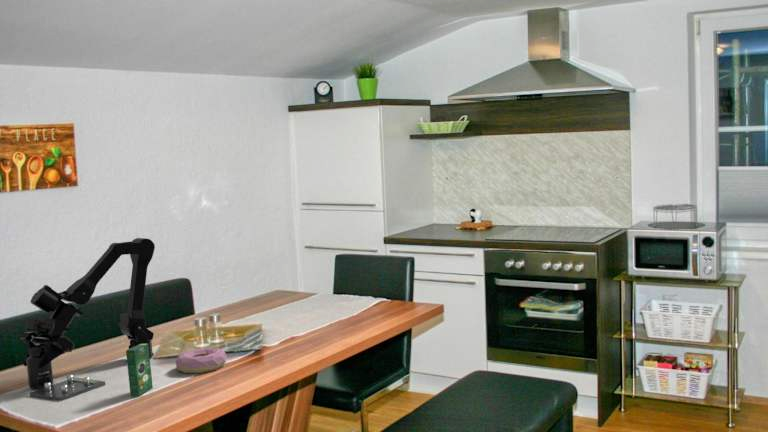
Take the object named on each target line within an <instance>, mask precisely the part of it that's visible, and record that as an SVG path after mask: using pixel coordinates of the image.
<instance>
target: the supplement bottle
mask: <svg viewBox="0 0 768 432" xmlns="http://www.w3.org/2000/svg"><path fill="white" fill-rule="evenodd" d="M45 350H46V344H44V345H36V346H32V347H29V354H30V356H29V357H28V358H27V360H26V364H27V366H26V370H27V371H26V373H27V381H28V382H27V383H28V387H29V389H32V390H39V389H42V388H45V384H44V383H47V382H50V383H51V385H54V374H53V373H54V372H53V365H52V363H53V362H52V361H51V362H49V363H48V364H46V365H45V366H43V367H42V368H39V367H38V364H39V362H40V360H41V358H42V356H43V354H44V352H45Z"/></svg>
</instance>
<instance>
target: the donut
mask: <svg viewBox="0 0 768 432" xmlns="http://www.w3.org/2000/svg"><path fill="white" fill-rule="evenodd" d="M175 359H176V360H175V365H176V366H175V367H176V369H177V370H178V371H180V372H182V373H185V374H203V373H208V372H212V371H215V370H218V369H221V368H222V367H224V365H225V364H226V362H227V359H228V357H227V354H226V352H225V351H224V350H223V349H222V348H217V347H201V348H196V349H195V348H194V349H190V350H187V351H184V352H182V353H181V354H179V355H178V356H177V357H176V358H175Z"/></svg>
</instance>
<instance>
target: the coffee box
mask: <svg viewBox="0 0 768 432" xmlns="http://www.w3.org/2000/svg"><path fill="white" fill-rule="evenodd" d="M125 353H126V356H125V357H126V364H127V376H128V383H129V393H130V397H131V398H132V397H134V398H136V397H137V398H138V397H140V396H142V395H143V394H145V393H147V391H150V390H151V389H153V388H154V387H153V378H152V370H151V359H150V357H149V347H148V344H147V343H146V344H139V345H137V346H135V347H132V348H130V349H129V348H128V349H127V350H125Z"/></svg>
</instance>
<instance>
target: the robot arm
mask: <svg viewBox="0 0 768 432" xmlns="http://www.w3.org/2000/svg"><path fill="white" fill-rule="evenodd" d="M155 248H156V247H155V243H154V241H153V240H152V239H150V238H143V237H136V238H134V239H133V240H131V241H123V242H112V243H111V244H110V245H108V248H107V249H106V250H105V252H104V253H103V254H102V255H101V256H100V257H99V258H98V260H97V261H96V262H95V263H94V264H93V265H92V267H91V268H90V269H89V270H88V271H87V272H86V274H85V275H84V276H82V277H81V278H79V279H77V280H76V281H74V282H73V283H71V285H70V286H69V287H68V288H66V290H64V291H60V292H57V291H55V290H54V289H53V288H52V287H51V286H49V285H48V284H44V285H43V286H42V287H41V288H40V289H38V290H37V292H35V293H33V295H32V297H31V300H30V304H32V305H33V306H35V307H36V308H38V309H40V310H41V311H42V312H44V313H46V314H48V313H52V314H51V316H50V317H44V316H43V317H41V319H37V318H27V321H26V325H25V330H27V331H25V332H23V333H22V334H21V335H20V337H19V339H20V340H21V341H23V342H24V344H25V345H26V351H25V356H24V358H23V359H24V360H23V364H22V365H23V366H24V367H27V364H26V360H27V358H28V357H29V356H30V354H29V347H32V346H36V345H46V350H45V352H44V354H43V356H42V358H41V360H40V362H39V364H38V367H39V368H42V367H43V366H45V365H46V364H48V363H49V362H51V363H52V361H53V360H55V359H57V358H58V357H60V356H61V355H64V354H66V352H67V353H72V351H73V350H74V348H75V343H74V341H72V340H71V339H70V338H68V337H67V336H66V335H64V334H65V333H68V332H69V331H70V328H68V327H69V325H70V324H71V322H72V320H74V319H73V318H75V317H81V316H83V315H84V312H83V310H82V306H81V305H85V304H88V302H89V301H90V300H91V299H92V296H93V294H94V293H95V290H96V288H97V286H98V283H99V282H100V281H101V280H102V279H103V277H104V276H105V275H106V274H107V272H109V270H110V269H111V268H112V267H113V266H114V265H115V263H116V262H117V261H118V260H119V259H120V257H121V256H124V255H129V256H130V260H131V264H132V267H131V268H132V270H131V278H130V285H129V293H128V294H129V297H128V305H127V309H126V311H125V312H124V313H120V314H119V315H120V317H119V318H120V320H119V321H120V322H119V323H118V326H119V327H120V331H121V333H122V334H123V335H125V336H126V338H127V339H128V340H129V345H128V349H130V348H132V347H135V346H137V345H139V344H146V343H147V344H148V347H149V357H150V360H151V359H152V358H153V357H154V356H155V353H154V352H153V346H152V345H153V344H152V341H153V338H154V334H155V333H154V332H152V330H150V329H149V328H147V327H146V317H145V313H144V311H143V310H144V302H145V301H144V300H145V292H146V283H147V273H148V266H149V265H150V263H151V261H152V259H153V256H154V253H155ZM66 302H68V303H66ZM74 304H76V305H80V306H79V307H76V306H75V305H74ZM29 330H31V331H29ZM34 331H35V332H34Z"/></svg>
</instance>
